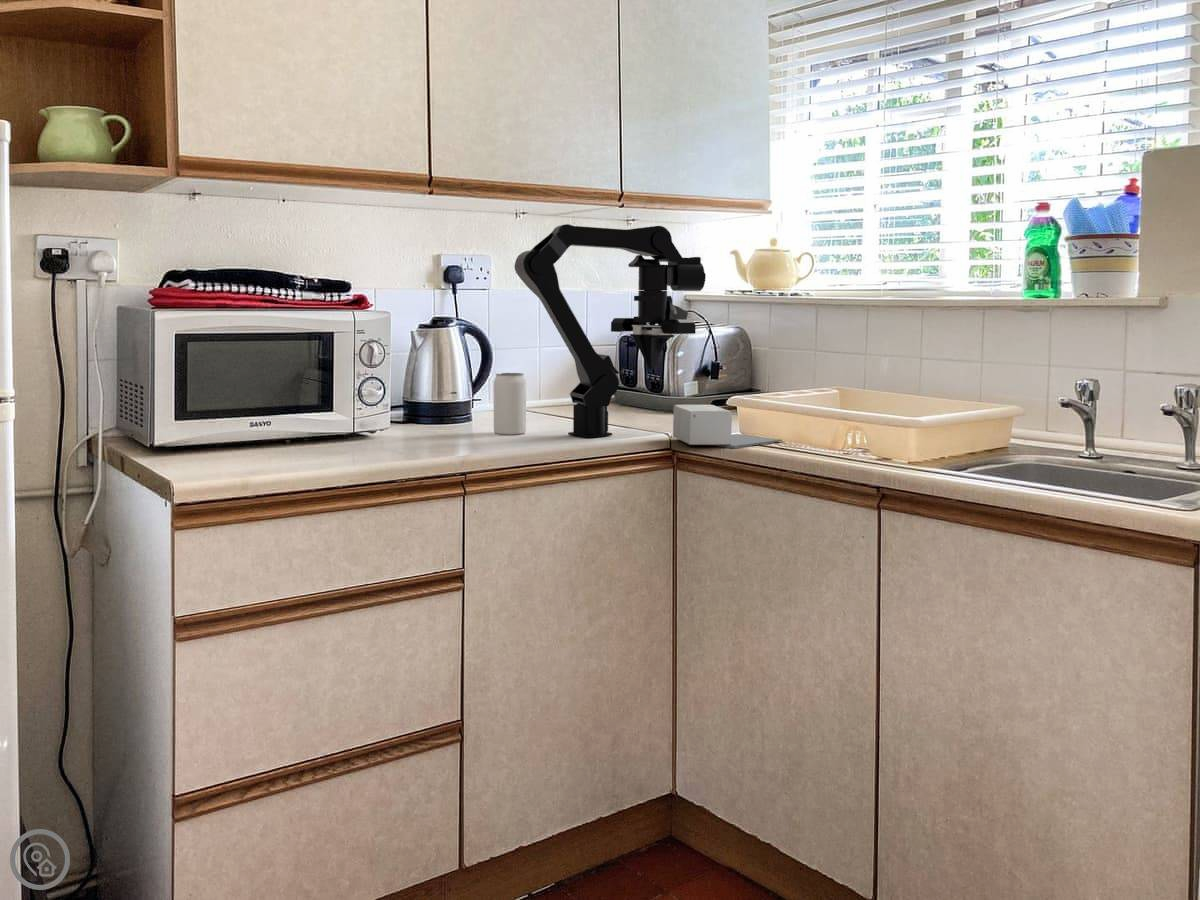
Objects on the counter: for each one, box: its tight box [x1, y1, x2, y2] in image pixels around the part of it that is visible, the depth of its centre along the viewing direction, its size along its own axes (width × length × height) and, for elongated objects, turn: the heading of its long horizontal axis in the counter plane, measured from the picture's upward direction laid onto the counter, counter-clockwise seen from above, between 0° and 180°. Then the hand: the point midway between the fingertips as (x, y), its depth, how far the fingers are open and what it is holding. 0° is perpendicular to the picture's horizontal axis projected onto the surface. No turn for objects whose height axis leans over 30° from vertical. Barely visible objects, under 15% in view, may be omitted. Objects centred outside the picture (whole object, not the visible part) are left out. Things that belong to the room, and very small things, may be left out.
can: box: [493, 372, 527, 436], centre depth 214 cm, size 6×6×12 cm
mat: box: [711, 433, 783, 449], centre depth 204 cm, size 14×11×1 cm
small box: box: [672, 404, 733, 446], centre depth 201 cm, size 8×6×13 cm
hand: (651, 369), depth 214 cm, fingers closed
